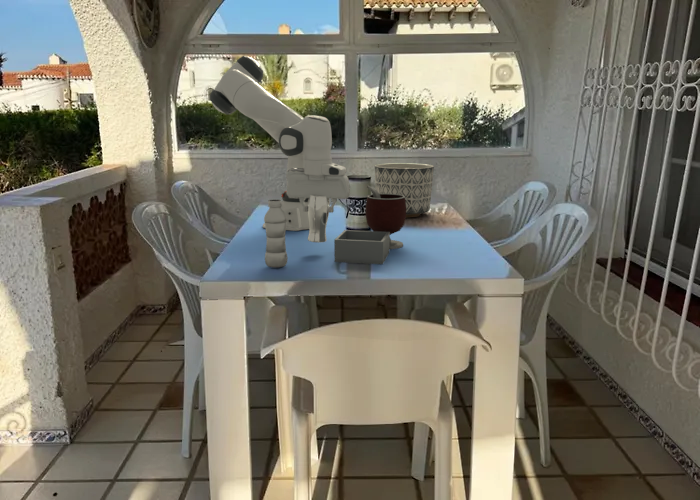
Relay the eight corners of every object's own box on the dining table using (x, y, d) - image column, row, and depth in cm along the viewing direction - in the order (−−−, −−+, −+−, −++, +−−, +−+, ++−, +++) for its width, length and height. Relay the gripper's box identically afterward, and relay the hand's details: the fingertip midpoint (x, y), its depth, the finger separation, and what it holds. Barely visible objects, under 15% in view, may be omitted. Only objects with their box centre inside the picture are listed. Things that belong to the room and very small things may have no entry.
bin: (334, 261, 179) (334, 239, 177) (344, 250, 193) (344, 230, 191) (382, 264, 176) (383, 241, 174) (389, 252, 190) (389, 231, 188)
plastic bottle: (265, 264, 175) (263, 198, 171) (288, 264, 176) (286, 198, 171) (264, 270, 169) (262, 202, 164) (287, 269, 170) (286, 201, 165)
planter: (433, 210, 271) (434, 163, 266) (430, 220, 246) (432, 168, 241) (377, 209, 276) (378, 162, 270) (370, 218, 251) (370, 167, 246)
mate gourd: (413, 245, 201) (415, 187, 197) (387, 251, 192) (388, 191, 187) (380, 238, 212) (381, 183, 207) (353, 244, 202) (353, 187, 198)
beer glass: (325, 243, 184) (327, 197, 181) (303, 241, 186) (305, 195, 182) (329, 239, 191) (332, 193, 187) (309, 237, 192) (311, 192, 189)
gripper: (283, 168, 182) (284, 212, 185) (347, 170, 178) (347, 214, 181) (289, 166, 188) (290, 209, 191) (351, 168, 184) (351, 211, 187)
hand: (318, 211), depth 186 cm, fingers closed on beer glass, 7 cm apart
